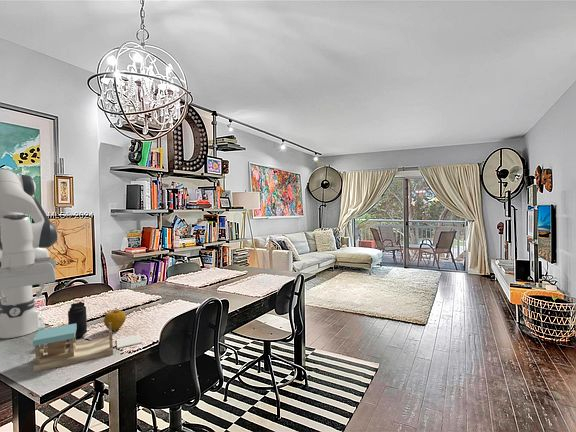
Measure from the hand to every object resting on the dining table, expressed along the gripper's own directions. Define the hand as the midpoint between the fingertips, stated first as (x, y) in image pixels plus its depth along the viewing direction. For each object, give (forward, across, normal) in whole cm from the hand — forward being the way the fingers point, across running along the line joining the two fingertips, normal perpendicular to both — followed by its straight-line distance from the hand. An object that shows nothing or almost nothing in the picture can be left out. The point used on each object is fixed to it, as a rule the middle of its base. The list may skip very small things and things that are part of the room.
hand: (22, 299), depth 113 cm
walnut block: (+22, -9, 0) cm, 24 cm away
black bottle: (+24, -15, -21) cm, 36 cm away
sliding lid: (+16, -9, 0) cm, 18 cm away
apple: (+24, -29, -19) cm, 43 cm away
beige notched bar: (+25, -14, 0) cm, 28 cm away
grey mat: (+25, -33, -1) cm, 41 cm away
